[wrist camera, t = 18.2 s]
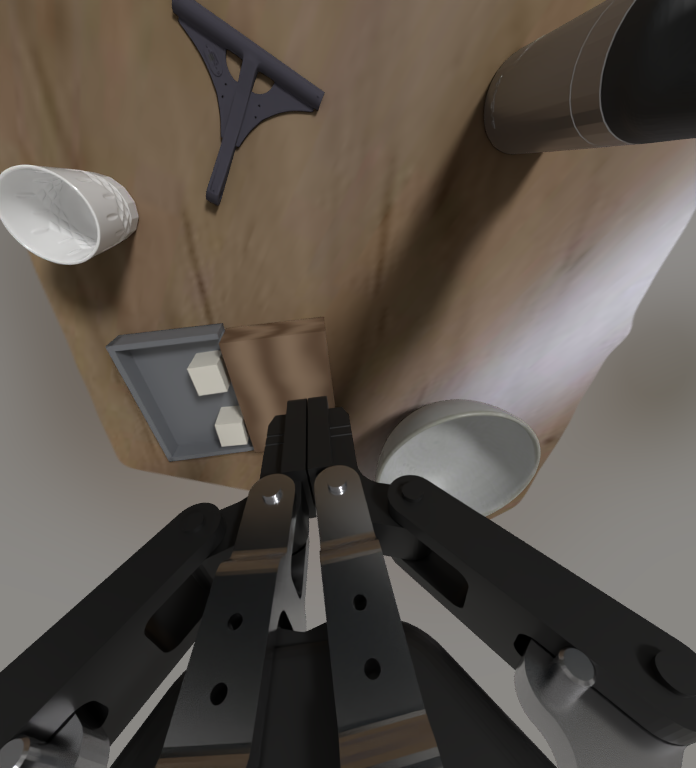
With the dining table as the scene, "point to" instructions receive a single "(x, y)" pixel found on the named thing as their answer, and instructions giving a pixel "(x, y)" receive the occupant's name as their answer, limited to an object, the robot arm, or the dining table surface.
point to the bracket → (241, 84)
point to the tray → (175, 389)
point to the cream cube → (209, 373)
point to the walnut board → (276, 369)
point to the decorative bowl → (463, 452)
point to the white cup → (65, 212)
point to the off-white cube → (231, 427)
